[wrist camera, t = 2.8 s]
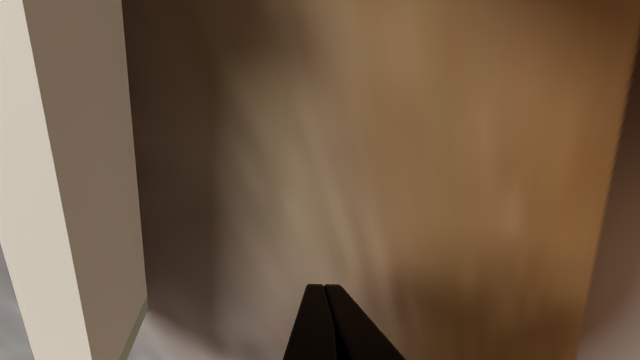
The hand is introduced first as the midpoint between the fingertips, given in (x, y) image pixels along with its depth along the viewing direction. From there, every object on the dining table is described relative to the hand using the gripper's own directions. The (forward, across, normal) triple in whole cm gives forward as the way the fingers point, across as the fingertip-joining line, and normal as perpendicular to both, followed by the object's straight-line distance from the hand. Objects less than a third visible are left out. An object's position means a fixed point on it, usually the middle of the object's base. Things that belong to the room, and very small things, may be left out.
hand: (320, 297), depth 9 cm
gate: (+7, +7, -1) cm, 10 cm away
